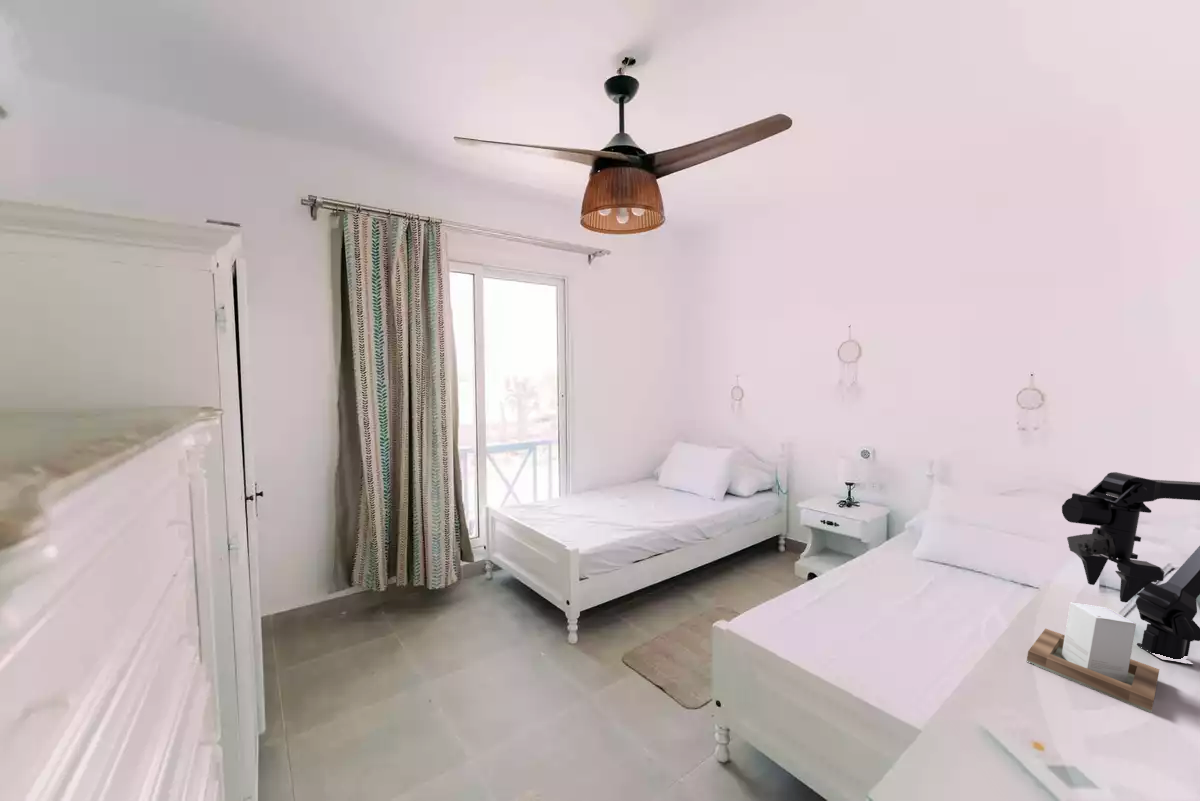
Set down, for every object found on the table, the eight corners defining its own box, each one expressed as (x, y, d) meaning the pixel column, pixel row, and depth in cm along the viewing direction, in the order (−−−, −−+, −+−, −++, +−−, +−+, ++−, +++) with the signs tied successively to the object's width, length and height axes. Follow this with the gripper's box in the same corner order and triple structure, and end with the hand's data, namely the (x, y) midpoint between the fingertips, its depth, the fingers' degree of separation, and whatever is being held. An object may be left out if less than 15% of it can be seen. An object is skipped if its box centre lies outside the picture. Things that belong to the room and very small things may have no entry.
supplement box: (1127, 683, 100) (1138, 624, 99) (1085, 676, 101) (1095, 617, 100) (1098, 662, 107) (1108, 606, 106) (1059, 655, 108) (1068, 600, 107)
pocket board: (1043, 638, 117) (1045, 628, 116) (1157, 680, 103) (1159, 669, 102) (1026, 661, 105) (1028, 650, 105) (1151, 713, 91) (1153, 700, 91)
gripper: (1049, 511, 124) (1039, 571, 125) (1110, 535, 106) (1098, 605, 107) (1101, 518, 122) (1090, 578, 123) (1172, 543, 103) (1159, 614, 105)
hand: (1106, 592), depth 114 cm, fingers open, 9 cm apart
